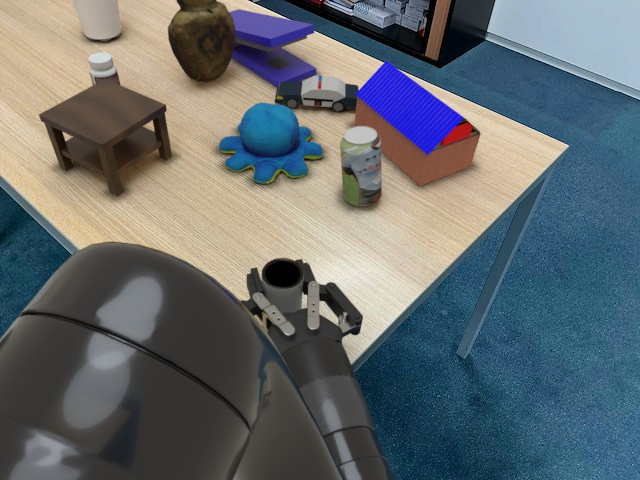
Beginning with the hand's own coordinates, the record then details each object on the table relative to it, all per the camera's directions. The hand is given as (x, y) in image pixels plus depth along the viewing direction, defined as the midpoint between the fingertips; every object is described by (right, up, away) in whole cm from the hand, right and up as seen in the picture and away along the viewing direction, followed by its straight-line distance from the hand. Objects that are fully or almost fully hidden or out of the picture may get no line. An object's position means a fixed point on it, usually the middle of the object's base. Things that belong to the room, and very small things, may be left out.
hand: (275, 269), depth 62 cm
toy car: (+5, +30, +44) cm, 53 cm away
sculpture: (-18, +35, +48) cm, 62 cm away
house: (+21, +20, +36) cm, 46 cm away
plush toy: (-3, +18, +32) cm, 37 cm away
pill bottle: (-35, +30, +41) cm, 61 cm away
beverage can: (+11, +10, +25) cm, 29 cm away
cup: (-43, +48, +59) cm, 87 cm away
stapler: (-9, +43, +56) cm, 72 cm away
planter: (0, -8, +4) cm, 9 cm away
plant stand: (-28, +16, +28) cm, 43 cm away
